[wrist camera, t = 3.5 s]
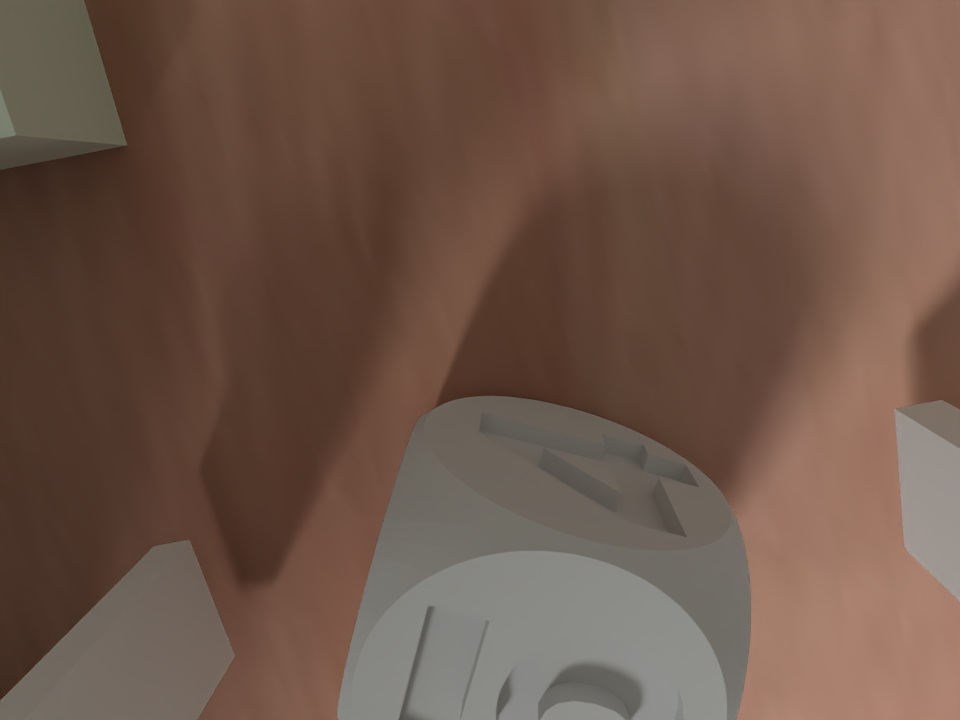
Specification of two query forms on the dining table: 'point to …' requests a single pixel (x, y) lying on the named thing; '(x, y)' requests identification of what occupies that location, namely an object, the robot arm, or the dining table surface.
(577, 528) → the die
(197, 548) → the dining table surface
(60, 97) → the tower base
